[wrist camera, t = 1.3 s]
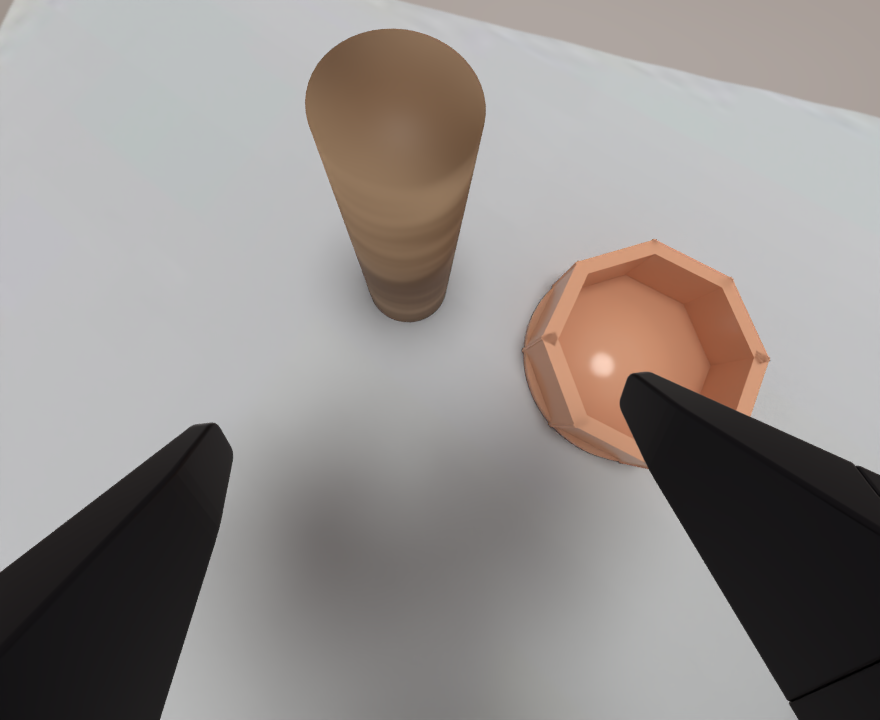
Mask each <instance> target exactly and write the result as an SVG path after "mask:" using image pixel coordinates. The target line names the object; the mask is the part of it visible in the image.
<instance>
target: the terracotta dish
mask: <svg viewBox="0 0 880 720" xmlns="http://www.w3.org/2000/svg"><path fill="white" fill-rule="evenodd" d="M733 280H734V279H732V277H728V276H726V275H724V274H723V273H721V272H719V271H717V270H715V269H713V268H711V267H709V266H707V265H705V264H703V263H701V262H699V261H697V260H695V259H693V258H691V257H689V256H687V255H685V254H683V253H681V252H679V251H677V250H675V249H673V248H671V247H669V246H667V245H665V244H663V243H661V242H659V241H657V239H652V240H651V241H648V242H645V243H641V244H638V245H634V246H631V247H627V248H624V249H620V250H617V251H613V252H610V253H606V254H603V255H600V256H596V257H593V258H589V259H586V260H582V261H577V262H576V263H575V264H574V265H573V266H572V267H571V268H570V269H569V270H568V271H567V272H566V273H565V274H564V275H563V276H562V277H561V278H560V279H559V280H558V281H556V282H555V283H554V284H553V285H552V289H551V290H550V291H549V292H548V293H547V294H546V295H545V296H544V298H543V299H542V300H541V301H540V303H539V304H538V306H537V307H536V309H535V311H534V313H533V314H532V317H531V319H530V322H529V325H528V328H527V332H526V336H525V342H524V348H523V349H522V352H523V353H524V367H525V373H526V378H527V382H528V385H529V389H530V391H531V393H532V396H533V398H534V400H535V402H536V404H537V406H538V408H539V409H540V411H541V413H542V414H543V416H544V417H545V418H546V419H547V421H548V425H550V427H553V428H554V429H555V430H556V431H557V432H558V433H559V434H560V435H562V436H563V437H564V438H565V439H567V440H568V441H569V442H570V443H572V444H574V445H575V446H577V447H579V448H580V449H582V450H584V451H586V452H588V453H591V454H593V455H595V456H599V457H602V458H606V459H610V460H615V461H619V462H620V463H622V464H627V465H632V466H637V467H641V468H646V469H648V467H647V465H646V463H645V461H644V459H643V457H642V455H641V453H640V450H639V448H638V446H637V444H636V442H635V440H634V438H633V435H632V433H631V431H630V429H629V427H628V425H627V423H626V420H625V418H624V416H623V414H622V412H621V409H620V404H619V402H620V397H621V394H622V391H623V389H624V386H625V383H626V380H627V377H628V376H629V375H630V374H632V373H637V372H652V373H654V374H656V375H658V376H661V377H663V378H665V379H667V380H670V381H672V382H674V383H676V384H678V385H681V386H683V387H685V388H687V389H690V390H692V391H694V392H696V393H698V394H701V395H703V396H705V397H707V398H710V399H712V400H714V401H716V402H718V403H721V404H723V405H725V406H727V407H730V408H732V409H734V410H736V411H738V412H741V413H743V414H745V415H747V416H751V413H752V410H753V407H754V404H755V401H756V398H757V395H758V392H759V389H760V386H761V383H762V380H763V377H764V374H765V371H766V368H767V365H768V362H769V361H770V357H768V355H767V353H766V351H765V348H764V346H763V344H762V342H761V340H760V338H759V335H758V333H757V331H756V329H755V327H754V325H753V322H752V320H751V318H750V316H749V314H748V312H747V309H746V307H745V305H744V303H743V301H742V299H741V296H740V294H739V292H738V290H737V288H736V286H735V284H734V281H733Z"/></svg>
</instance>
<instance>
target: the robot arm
mask: <svg viewBox="0 0 880 720" xmlns="http://www.w3.org/2000/svg"><path fill="white" fill-rule="evenodd" d="M619 404H620V409H621V412H622V414H623V416H624V418H625V420H626V423H627V425H628V427H629V429H630V431H631V433H632V435H633V438H634V440H635V442H636V444H637V446H638V448H639V450H640V453H641V455H642V457H643V459H644V461H645V463H646V465H647V467H648V469H649V470H650V472H651V474H652V476H653V478H654V479H655V481H656V483H657V484H658V486H659V488H660V489H661V491H662V493H663V494H664V496H665V498H666V499H667V501H668V503H669V504H670V506H671V508H672V509H673V511H674V513H675V514H676V516H677V518H678V519H679V521H680V523H681V524H682V526H683V528H684V529H685V531H686V533H687V534H688V536H689V538H690V539H691V541H692V543H693V544H694V546H695V548H696V549H697V551H698V553H699V554H700V556H701V558H702V559H703V561H704V563H705V564H706V566H707V567H708V569H709V571H710V572H711V574H712V576H713V577H714V579H715V581H716V582H717V584H718V586H719V587H720V589H721V591H722V592H723V594H724V596H725V597H726V599H727V601H728V602H729V604H730V606H731V607H732V609H733V611H734V612H735V614H736V616H737V617H738V619H739V621H740V622H741V624H742V626H743V627H744V629H745V631H746V632H747V634H748V636H749V637H750V639H751V641H752V642H753V644H754V646H755V647H756V649H757V651H758V652H759V654H760V656H761V657H762V659H763V661H764V662H765V664H766V666H767V667H768V669H769V671H770V672H771V674H772V676H773V677H774V679H775V681H776V682H777V684H778V686H779V687H780V689H781V691H782V692H783V694H784V696H785V697H786V699H787V700H788V701H790V702H789V704H790V706H791V708H792V710H793V711H794V713H795V715H796V716H797V718H798V720H880V475H879V474H876V473H874V472H872V471H870V470H868V469H865V468H863V467H861V466H855V465H854V464H853V463H852V462H850V461H847V460H845V459H843V458H841V457H838V456H836V455H834V454H832V453H830V452H827V451H825V450H823V449H821V448H818V447H816V446H814V445H812V444H810V443H807V442H805V441H803V440H801V439H798V438H796V437H794V436H792V435H790V434H787V433H785V432H783V431H781V430H778V429H776V428H774V427H772V426H770V425H767V424H765V423H763V422H761V421H758V420H756V419H754V418H752V417H750V416H747V415H745V414H743V413H741V412H738V411H736V410H734V409H732V408H730V407H727V406H725V405H723V404H721V403H718V402H716V401H714V400H712V399H710V398H707V397H705V396H703V395H701V394H698V393H696V392H694V391H692V390H690V389H687V388H685V387H683V386H681V385H678V384H676V383H674V382H672V381H670V380H667V379H665V378H663V377H661V376H658V375H656V374H654V373H652V372H637V373H632V374H630V375H629V376H628V377H627V380H626V383H625V386H624V389H623V391H622V394H621V397H620V402H619ZM232 462H233V451H232V448H231V446H230V444H229V442H228V441H227V439H226V437H225V435H224V434H223V432H222V430H221V428H220V427H219V426H218V425H217V424H216V423H203V424H196V425H193V426H191V427H189V428H188V429H187V430H185V431H184V432H183V433H182V434H180V435H179V436H178V437H176V438H175V439H174V440H172V441H171V442H170V443H168V444H167V445H166V446H165V447H163V448H162V449H161V450H159V451H158V452H157V453H155V454H154V455H153V456H152V457H150V458H149V459H148V460H146V461H145V462H144V463H142V464H141V465H140V466H138V467H137V468H136V469H135V470H133V471H132V472H131V473H129V474H128V475H127V476H125V477H124V478H123V479H121V480H120V481H119V482H118V483H116V484H115V485H114V486H112V487H111V488H110V489H108V490H107V491H106V492H104V493H103V494H102V495H101V496H99V497H98V498H97V499H95V500H94V501H93V502H91V503H90V504H89V505H87V506H86V507H85V508H84V509H82V510H81V511H80V512H78V513H77V514H76V515H74V516H73V517H72V518H71V519H69V520H68V521H67V522H65V523H64V524H63V525H61V526H60V527H59V528H57V529H56V530H55V531H54V532H52V533H51V534H50V535H48V536H47V537H46V538H44V539H43V540H42V541H40V542H39V543H38V544H37V545H35V546H34V547H33V548H31V549H30V550H29V551H27V552H26V553H25V554H23V555H22V556H21V557H20V558H18V559H17V560H16V561H14V562H13V563H12V564H10V565H9V566H8V567H6V568H5V569H4V570H3V571H1V572H0V720H160V718H161V715H162V711H163V708H164V705H165V702H166V698H167V695H168V692H169V689H170V686H171V682H172V679H173V676H174V673H175V670H176V666H177V663H178V660H179V657H180V654H181V650H182V647H183V644H184V641H185V638H186V634H187V631H188V628H189V625H190V622H191V618H192V615H193V612H194V609H195V606H196V602H197V599H198V596H199V593H200V590H201V586H202V583H203V580H204V577H205V573H206V570H207V567H208V564H209V561H210V557H211V554H212V551H213V548H214V545H215V541H216V538H217V534H218V531H219V527H220V523H221V518H222V513H223V508H224V503H225V498H226V493H227V488H228V482H229V477H230V472H231V467H232Z"/></svg>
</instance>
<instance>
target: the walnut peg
mask: <svg viewBox="0 0 880 720" xmlns="http://www.w3.org/2000/svg"><path fill="white" fill-rule="evenodd" d="M305 107H306V116H307V120H308V124H309V127H310V130H311V132H312V135H313V138H314V141H315V143H316V146H317V149H318V151H319V154H320V157H321V160H322V162H323V165H324V168H325V171H326V173H327V176H328V179H329V182H330V184H331V187H332V190H333V193H334V195H335V198H336V201H337V203H338V206H339V209H340V212H341V214H342V217H343V220H344V223H345V225H346V228H347V231H348V234H349V236H350V239H351V242H352V245H353V247H354V250H355V253H356V255H357V258H358V261H359V264H360V266H361V269H362V272H363V275H364V277H365V280H366V283H367V286H368V288H369V291H370V294H371V296H372V299H373V301H374V303H375V305H376V306H377V307H378V309H379V310H380V311H381V312H382V313H384V314H385V315H386V316H388V317H390V318H392V319H394V320H398V321H402V322H415V321H419V320H422V319H425V318H427V317H429V316H430V315H432V314H433V313H434V312H435V311H436V310H437V309H438V308H439V307H440V305H441V304H442V302H443V300H444V297H445V294H446V289H447V285H448V281H449V276H450V272H451V268H452V263H453V259H454V254H455V250H456V246H457V241H458V237H459V233H460V228H461V224H462V219H463V215H464V211H465V206H466V202H467V198H468V193H469V189H470V184H471V180H472V176H473V171H474V167H475V163H476V158H477V154H478V149H479V145H480V141H481V136H482V132H483V128H484V122H485V115H486V104H485V98H484V93H483V90H482V87H481V84H480V82H479V80H478V78H477V75H476V74H475V72H474V71H473V69H472V68H471V66H470V65H469V64H468V63H467V62H466V60H465V59H464V58H463V57H462V56H461V55H460V54H458V53H457V52H456V51H455V50H454V49H452V48H451V47H450V46H448V45H447V44H445V43H443V42H441V41H440V40H438V39H435V38H433V37H431V36H428V35H426V34H422V33H419V32H415V31H410V30H403V29H380V30H372V31H368V32H364V33H361V34H358V35H355V36H353V37H350V38H348V39H347V40H345V41H343V42H341V43H340V44H338V45H337V46H335V47H334V48H332V49H331V50H330V51H329V52H328V53H327V54H326V55H325V56H324V57H323V58H322V59H321V61H320V62H319V63H318V64H317V66H316V68H315V69H314V71H313V73H312V75H311V78H310V80H309V82H308V86H307V90H306V99H305Z"/></svg>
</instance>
